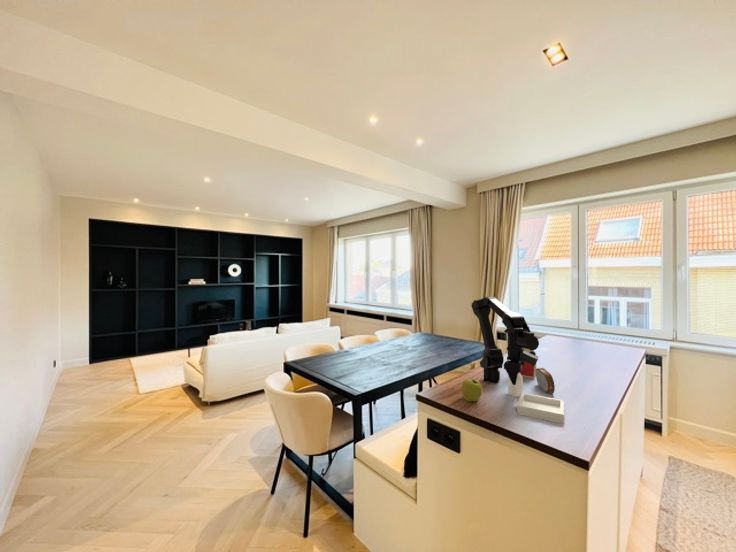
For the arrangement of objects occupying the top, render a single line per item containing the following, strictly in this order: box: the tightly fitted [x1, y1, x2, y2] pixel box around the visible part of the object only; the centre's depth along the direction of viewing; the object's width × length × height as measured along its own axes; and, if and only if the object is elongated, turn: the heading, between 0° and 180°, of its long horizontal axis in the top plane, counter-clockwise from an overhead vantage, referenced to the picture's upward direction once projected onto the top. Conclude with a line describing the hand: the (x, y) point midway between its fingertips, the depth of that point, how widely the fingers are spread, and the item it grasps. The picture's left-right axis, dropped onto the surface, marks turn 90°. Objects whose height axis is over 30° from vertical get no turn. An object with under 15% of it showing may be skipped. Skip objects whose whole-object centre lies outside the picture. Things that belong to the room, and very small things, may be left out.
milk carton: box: [520, 348, 537, 380], centre depth 152 cm, size 9×9×20 cm
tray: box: [516, 392, 565, 424], centre depth 110 cm, size 14×14×3 cm
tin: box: [535, 367, 556, 394], centre depth 131 cm, size 15×3×8 cm, turn 168°
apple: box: [461, 378, 483, 402], centre depth 121 cm, size 8×8×10 cm
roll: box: [507, 372, 524, 397], centre depth 127 cm, size 6×12×6 cm
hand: (515, 381), depth 127 cm, fingers open, 8 cm apart
